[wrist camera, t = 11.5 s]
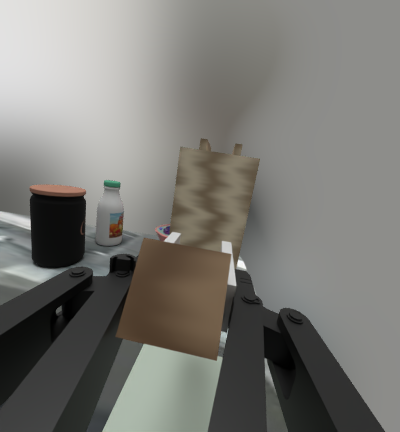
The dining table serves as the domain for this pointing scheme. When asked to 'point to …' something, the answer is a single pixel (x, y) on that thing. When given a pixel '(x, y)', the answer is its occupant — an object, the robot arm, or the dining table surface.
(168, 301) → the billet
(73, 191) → the coffee jar
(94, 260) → the dining table surface
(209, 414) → the mat
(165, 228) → the cell model
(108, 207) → the milk bottle
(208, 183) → the wooden block tower
